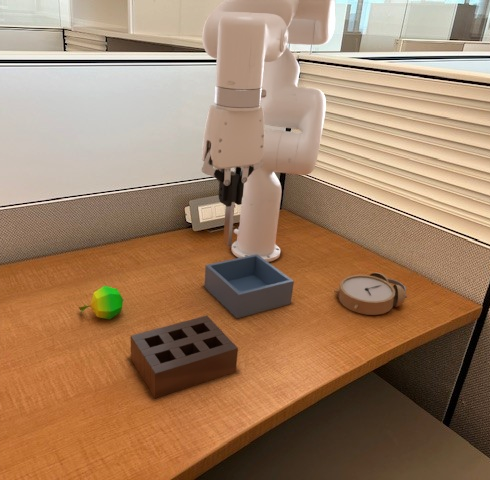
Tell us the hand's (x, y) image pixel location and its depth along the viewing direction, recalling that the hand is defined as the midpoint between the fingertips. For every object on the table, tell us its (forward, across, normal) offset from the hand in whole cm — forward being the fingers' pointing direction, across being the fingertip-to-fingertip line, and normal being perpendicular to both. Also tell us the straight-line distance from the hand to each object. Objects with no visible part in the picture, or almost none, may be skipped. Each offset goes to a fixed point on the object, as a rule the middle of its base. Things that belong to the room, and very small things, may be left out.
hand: (230, 202), depth 86 cm
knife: (+9, 0, 0) cm, 9 cm away
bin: (+25, -9, -5) cm, 27 cm away
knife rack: (+24, +14, +10) cm, 30 cm away
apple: (+25, +22, -10) cm, 34 cm away
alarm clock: (+25, -33, +8) cm, 42 cm away
